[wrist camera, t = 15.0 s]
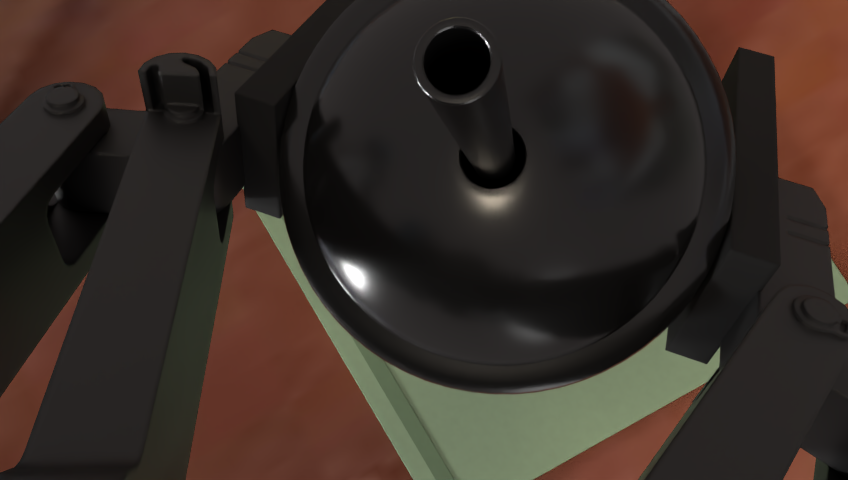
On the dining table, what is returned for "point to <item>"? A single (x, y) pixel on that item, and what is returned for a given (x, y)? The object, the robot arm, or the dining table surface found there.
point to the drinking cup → (507, 183)
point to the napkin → (506, 402)
